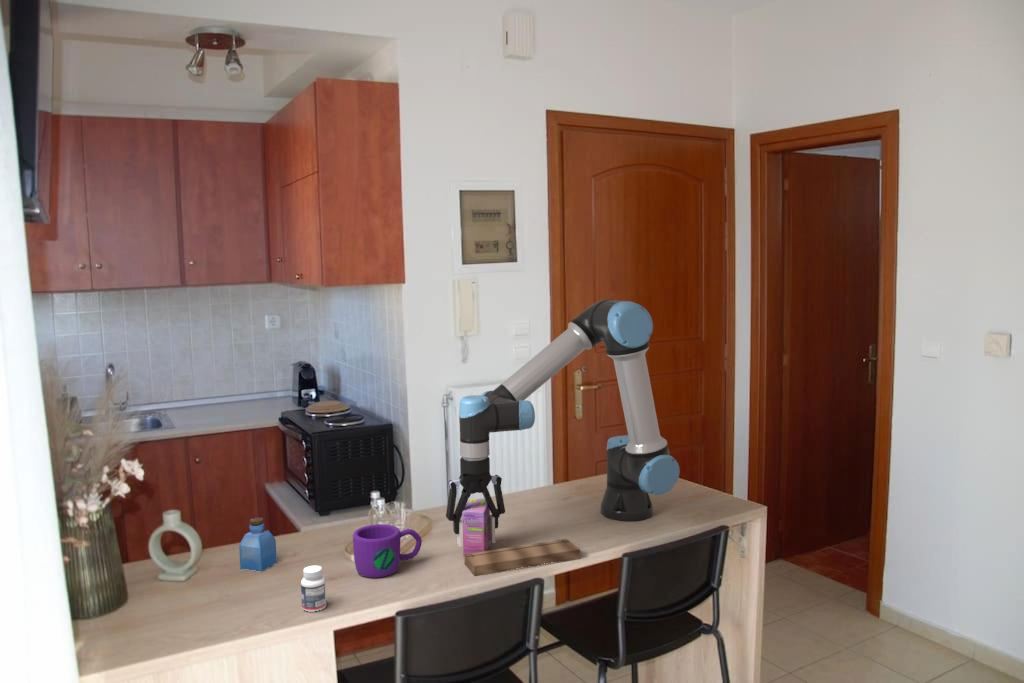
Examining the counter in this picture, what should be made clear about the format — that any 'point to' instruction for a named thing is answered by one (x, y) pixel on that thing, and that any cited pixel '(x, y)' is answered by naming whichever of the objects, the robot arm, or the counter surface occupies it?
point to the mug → (380, 549)
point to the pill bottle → (313, 589)
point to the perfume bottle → (257, 547)
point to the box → (475, 526)
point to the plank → (521, 556)
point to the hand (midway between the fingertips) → (476, 542)
